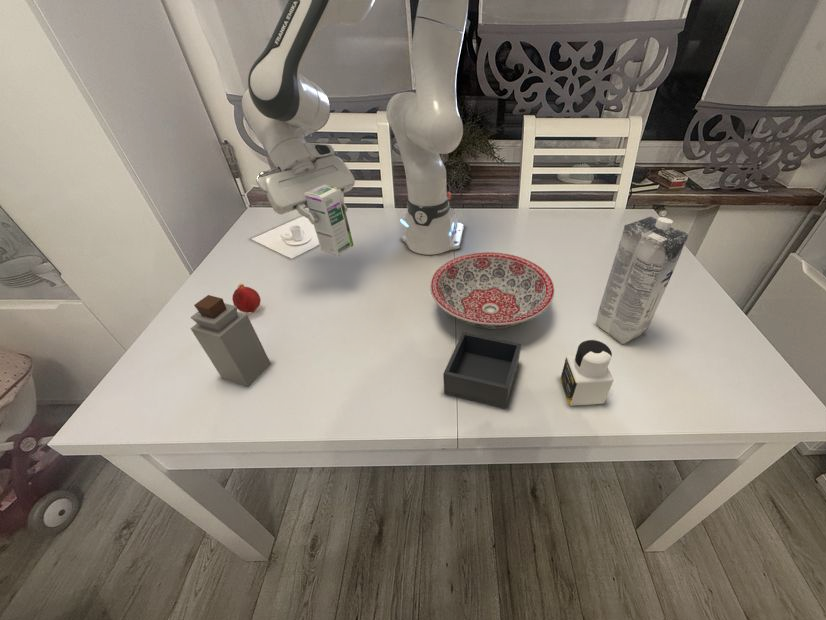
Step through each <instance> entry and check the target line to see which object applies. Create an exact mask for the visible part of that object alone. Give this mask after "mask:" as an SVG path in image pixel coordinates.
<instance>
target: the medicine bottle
mask: <svg viewBox="0 0 826 620" xmlns="http://www.w3.org/2000/svg"><path fill="white" fill-rule="evenodd" d="M612 357H613V352H612V350H611V349H610V347H609V346H608V345H607V344H606V343H604V342H602V341H600V340H596V339H587V340H584V341H582V342H581V343H579V344H578V346H577V349H576V353H575V354H572V355H566V357H565V360H564V363H563V367H562V371H561V375H560V383H561V385H562V389H563V391H564V395H565V397H566V400H567V403H568V405H569V406H571V407H572V406H586V405H587V406H589V405H603V404H605V402H606V399H607V398H608V395H609V392H610V390H611V388H612V385H613V384H614V378H613V376H612V374H611V371H610V369H609V365H610V362H611V360H612Z"/></svg>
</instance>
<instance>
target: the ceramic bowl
mask: <svg viewBox="0 0 826 620" xmlns="http://www.w3.org/2000/svg"><path fill="white" fill-rule="evenodd" d="M429 288H430V294H431V296H432V298H433V300H434V302H435V303H436V305H437V306H438V307H440V309H442V310H443V311H444V312H445V313H447V314H448V315H451V316H452V317H454V318H456V319H458V320H459V321H461V322H463V323H465V324H467V325H470V326H473V327H476V328H480V329H486V330H487V329H488V330H501V329H507V328H511V327H514V326H517V325H519V324H522V323H524V322H527V321H530V320H532V319H534V318H536V317H537V316H540V315H541V314H542V313H544V312H545V311H546V310H547V309H548V308H549V306H550V305H551V304H552V302H553V300H554V297H555V285H554V282H553V280H552V277H551V276H550V275H549V274H548V273H547V272H546V270H545V269H543V268H542V267H540V266H539V265H538V264H536V263H535V262H533V261H531V260H529V259H526V258H524V257H522V256H518V255H513V254H509V253H505V252H504V253H503V252H494V251H493V252H491V251H490V252H488V251H487V252H485V251H484V252H475V253H468V254H464V255H461V256H460V255H459V256H457V257H455V258H453V259H450V260H448V261H446V262H445V263H444V264H442V265H441V266H439V267H438V268H437V270H436V271H435V272H434V273H433V275H432V277H431V280H430V285H429ZM489 307H491V308H494V309H495V311H493V312H487V311H486V308H489Z"/></svg>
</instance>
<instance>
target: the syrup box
mask: <svg viewBox="0 0 826 620" xmlns="http://www.w3.org/2000/svg"><path fill="white" fill-rule="evenodd" d="M304 196H305V197H306V198H307V201H306V202H307V208H308V211H309V212H310V213H312V214H313V213H315V214H316V215H317V217H318V218H319V221H318V223H315V224H314V228H315V231H316V234H317V237H318V241H319V244H320V245H319V247H320V249H321V251H323V252H325V253H328V254H331V255H334V256H337V257H340V255H341V254H342V253H345V252H346V251H347V250H350V249H351V248H353V247H354V241H353V238H352V236H353V235H352V233H351V228H350V224H349V220H348V215H347V211H345V207H344V203H345V202H344V203H343V199H342V195H341V191H340V189H339V188H336V187H334V186H330V185H322V186H319V187H317V188H314V189H312V190H310V191H308V192H306V193H304Z"/></svg>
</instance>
